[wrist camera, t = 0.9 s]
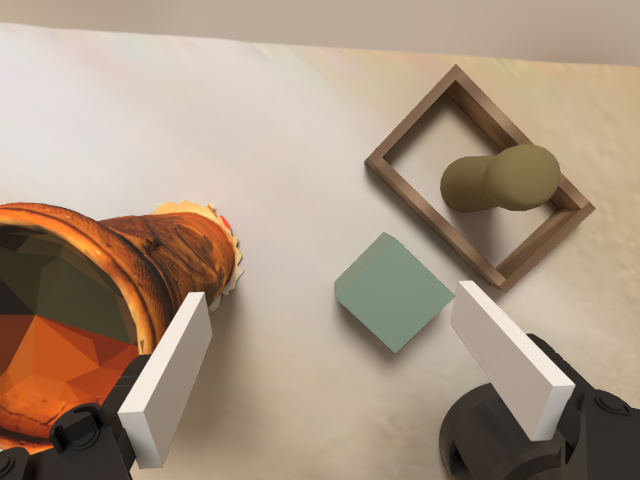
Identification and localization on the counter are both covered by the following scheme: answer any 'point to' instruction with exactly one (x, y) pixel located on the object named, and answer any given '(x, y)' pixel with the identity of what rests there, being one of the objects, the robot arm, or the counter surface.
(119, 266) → the vessel
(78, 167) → the counter surface
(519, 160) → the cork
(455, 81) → the wooden frame
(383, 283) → the stand
